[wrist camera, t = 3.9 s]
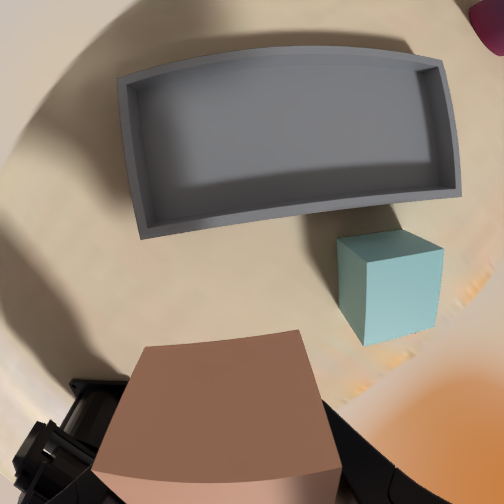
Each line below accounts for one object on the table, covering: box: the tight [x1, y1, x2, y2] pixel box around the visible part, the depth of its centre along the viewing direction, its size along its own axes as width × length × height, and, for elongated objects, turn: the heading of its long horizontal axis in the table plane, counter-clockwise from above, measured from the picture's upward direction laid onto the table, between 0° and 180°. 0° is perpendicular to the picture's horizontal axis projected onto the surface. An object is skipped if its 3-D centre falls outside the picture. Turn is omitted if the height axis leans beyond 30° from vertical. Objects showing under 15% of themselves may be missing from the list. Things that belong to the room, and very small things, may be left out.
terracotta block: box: [91, 330, 342, 504], centre depth 6 cm, size 4×4×4 cm
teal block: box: [336, 229, 444, 346], centre depth 15 cm, size 4×4×4 cm
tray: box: [117, 46, 462, 240], centre depth 13 cm, size 18×8×2 cm, turn 98°
